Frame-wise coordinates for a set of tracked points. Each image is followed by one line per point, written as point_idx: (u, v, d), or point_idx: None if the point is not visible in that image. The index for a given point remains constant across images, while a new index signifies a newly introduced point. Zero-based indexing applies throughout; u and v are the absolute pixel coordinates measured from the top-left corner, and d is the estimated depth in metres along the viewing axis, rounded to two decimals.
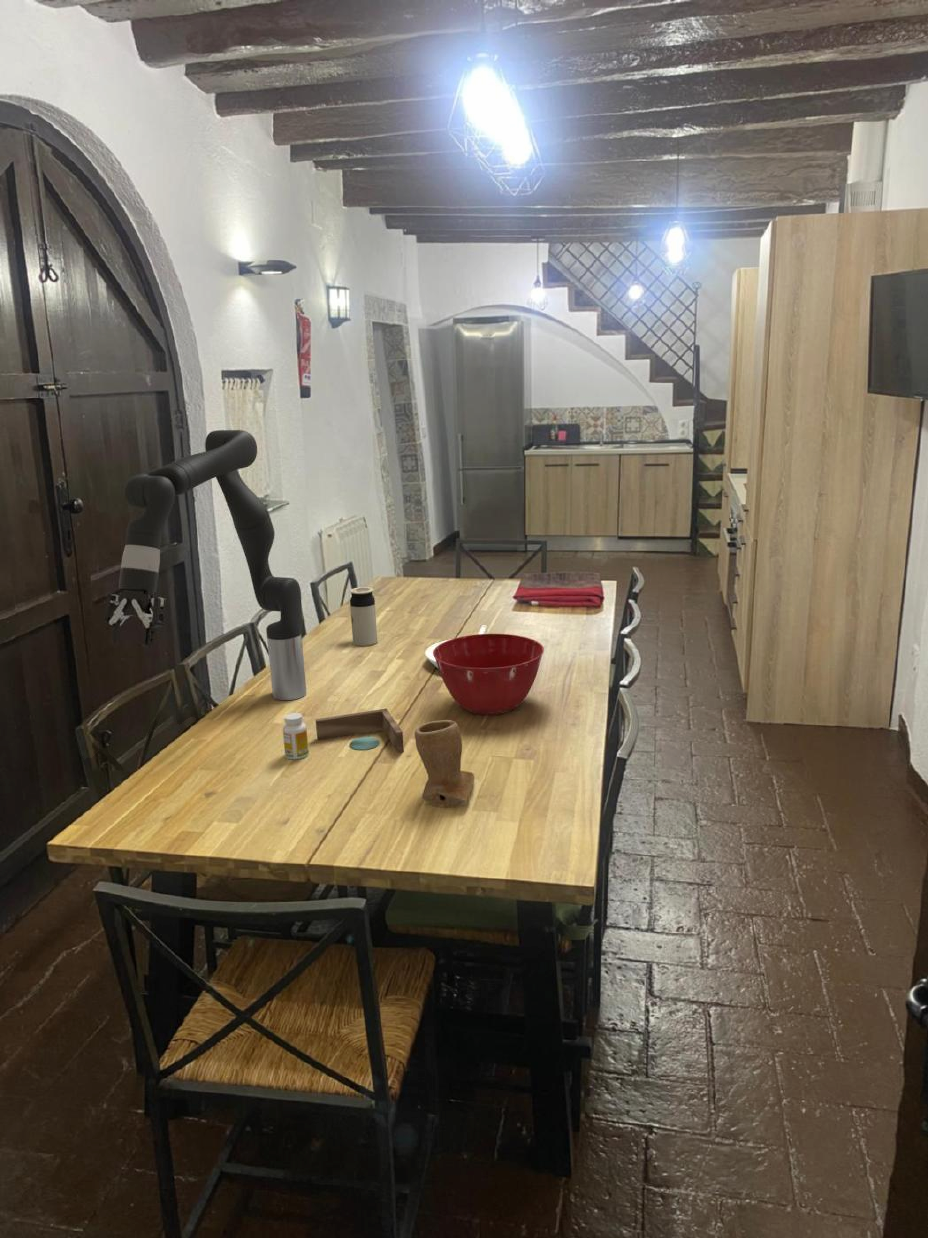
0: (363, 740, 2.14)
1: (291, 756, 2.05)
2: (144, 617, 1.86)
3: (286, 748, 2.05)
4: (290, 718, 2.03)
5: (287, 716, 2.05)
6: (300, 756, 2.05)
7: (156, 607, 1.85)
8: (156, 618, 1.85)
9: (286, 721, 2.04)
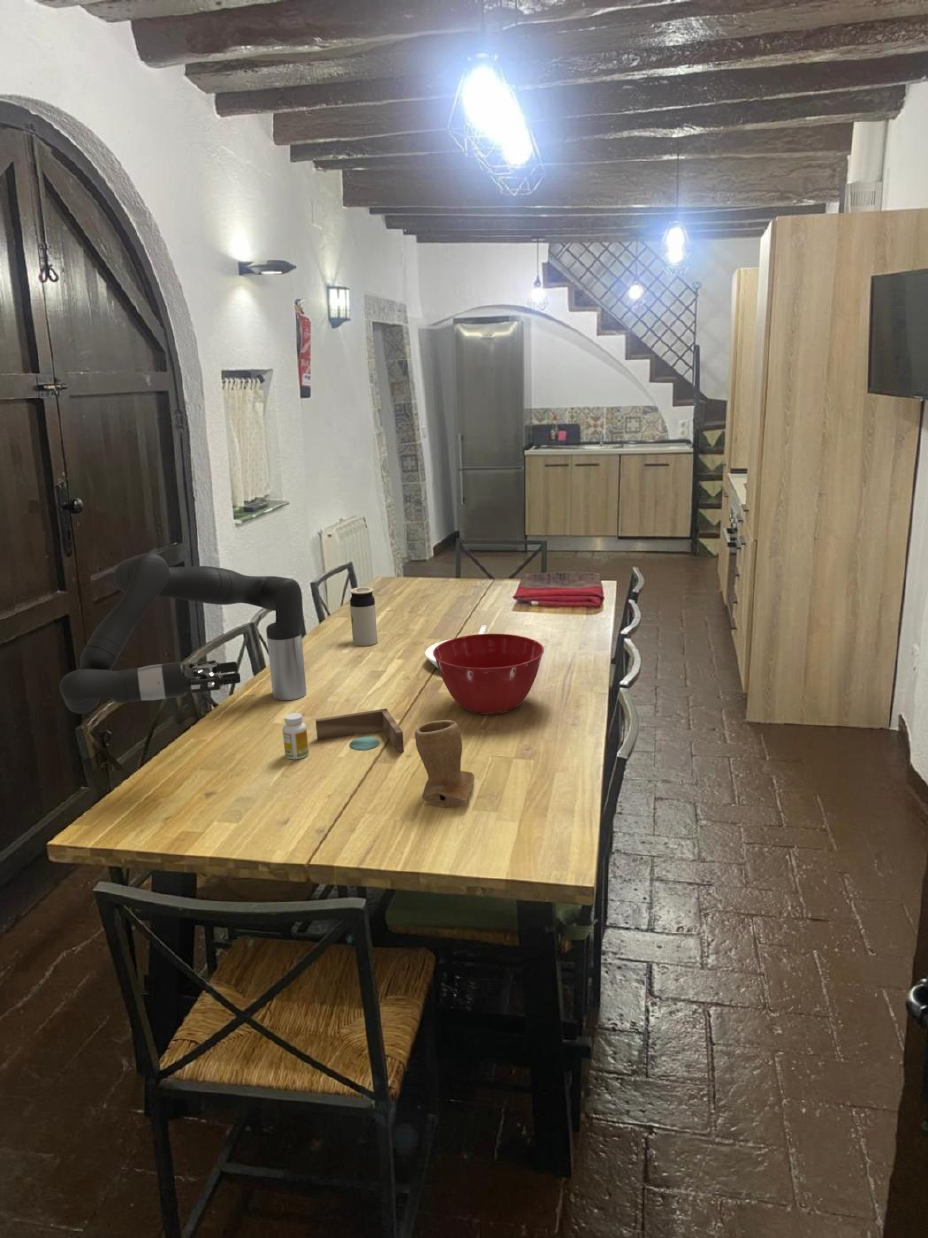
0: (363, 740, 2.14)
1: (291, 756, 2.05)
2: (212, 686, 1.93)
3: (286, 748, 2.05)
4: (290, 718, 2.03)
5: (287, 716, 2.05)
6: (300, 756, 2.05)
7: None
8: None
9: (286, 721, 2.04)
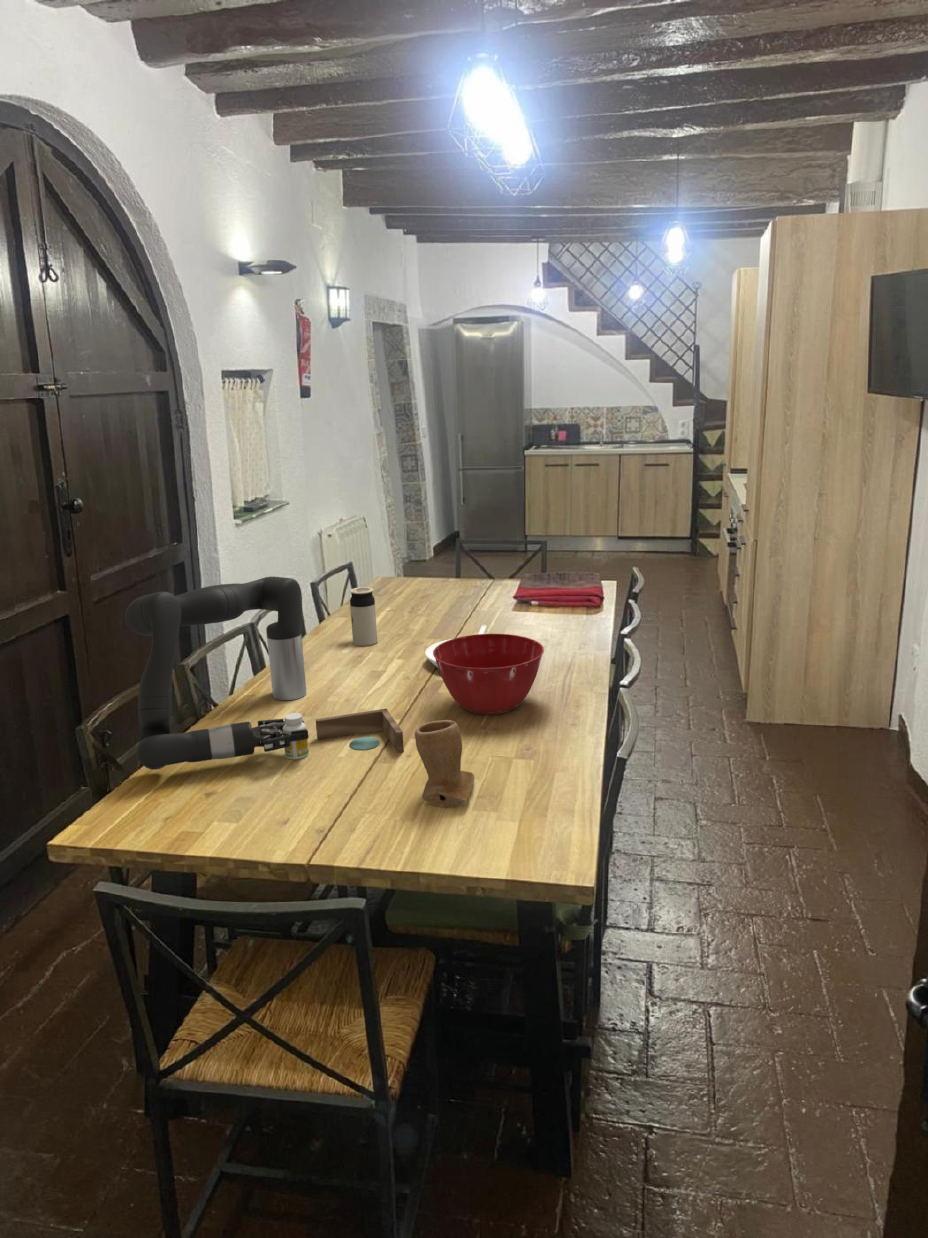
0: (363, 740, 2.14)
1: (291, 756, 2.05)
2: (281, 743, 2.02)
3: (286, 748, 2.05)
4: (290, 718, 2.03)
5: (287, 716, 2.05)
6: (300, 756, 2.05)
7: None
8: (284, 747, 2.00)
9: (286, 721, 2.04)
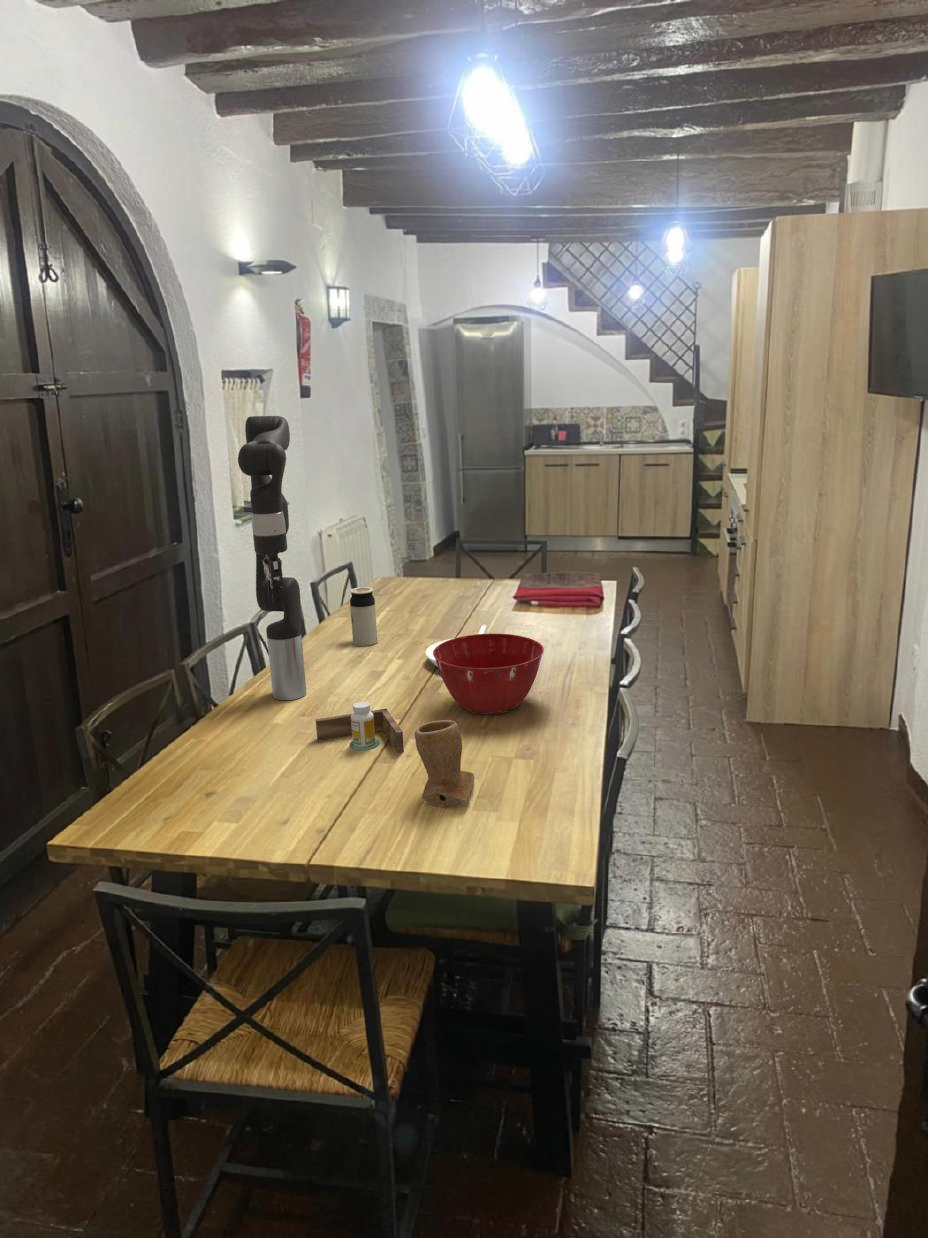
0: None
1: (359, 744, 2.09)
2: (269, 578, 2.06)
3: (354, 736, 2.10)
4: (358, 707, 2.08)
5: (355, 705, 2.09)
6: (368, 743, 2.10)
7: (270, 571, 2.03)
8: (272, 581, 2.03)
9: (354, 709, 2.08)
